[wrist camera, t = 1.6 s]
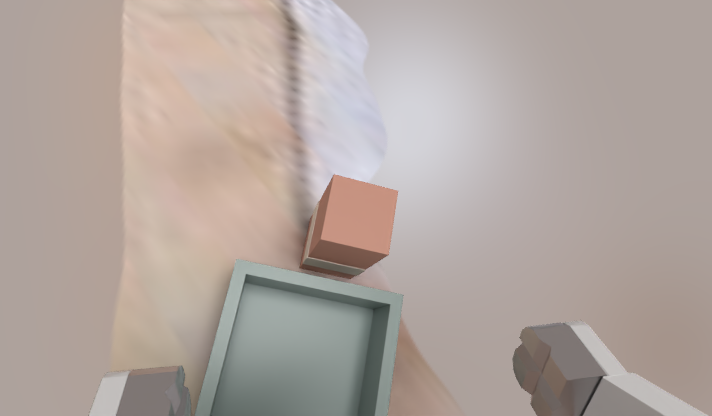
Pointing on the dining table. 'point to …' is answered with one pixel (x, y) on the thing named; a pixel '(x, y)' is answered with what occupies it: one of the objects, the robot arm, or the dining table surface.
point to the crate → (301, 347)
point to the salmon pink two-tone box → (349, 228)
